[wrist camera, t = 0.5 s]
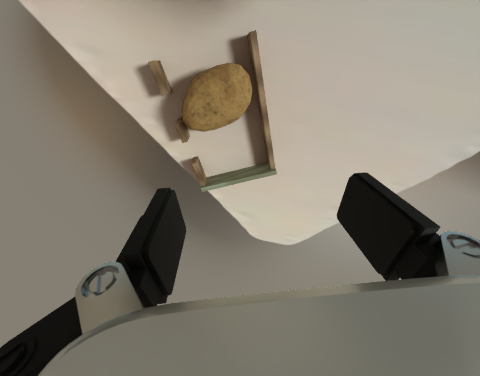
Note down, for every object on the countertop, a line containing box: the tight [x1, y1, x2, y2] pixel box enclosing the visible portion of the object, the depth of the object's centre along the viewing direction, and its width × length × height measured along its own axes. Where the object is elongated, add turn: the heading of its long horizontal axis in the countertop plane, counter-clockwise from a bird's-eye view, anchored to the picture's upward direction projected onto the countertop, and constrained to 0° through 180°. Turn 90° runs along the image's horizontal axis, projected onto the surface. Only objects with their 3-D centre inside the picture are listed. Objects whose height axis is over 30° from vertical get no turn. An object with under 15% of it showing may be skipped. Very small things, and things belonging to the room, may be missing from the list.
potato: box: [182, 63, 252, 131], centre depth 33 cm, size 10×14×8 cm
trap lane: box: [148, 30, 277, 192], centre depth 37 cm, size 26×18×4 cm
